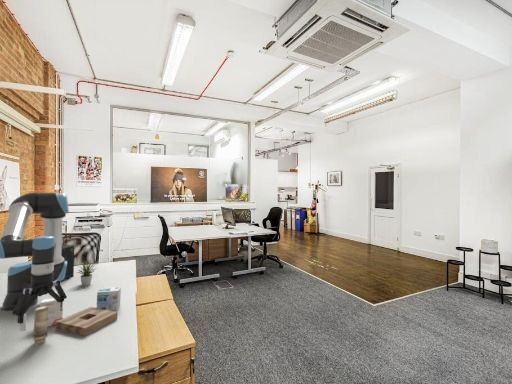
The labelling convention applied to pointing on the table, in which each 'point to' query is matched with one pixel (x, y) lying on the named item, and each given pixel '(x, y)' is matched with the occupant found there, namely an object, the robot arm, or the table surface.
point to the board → (86, 321)
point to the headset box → (68, 260)
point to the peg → (40, 325)
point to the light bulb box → (109, 298)
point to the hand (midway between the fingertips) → (40, 323)
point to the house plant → (86, 274)
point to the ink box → (51, 311)
